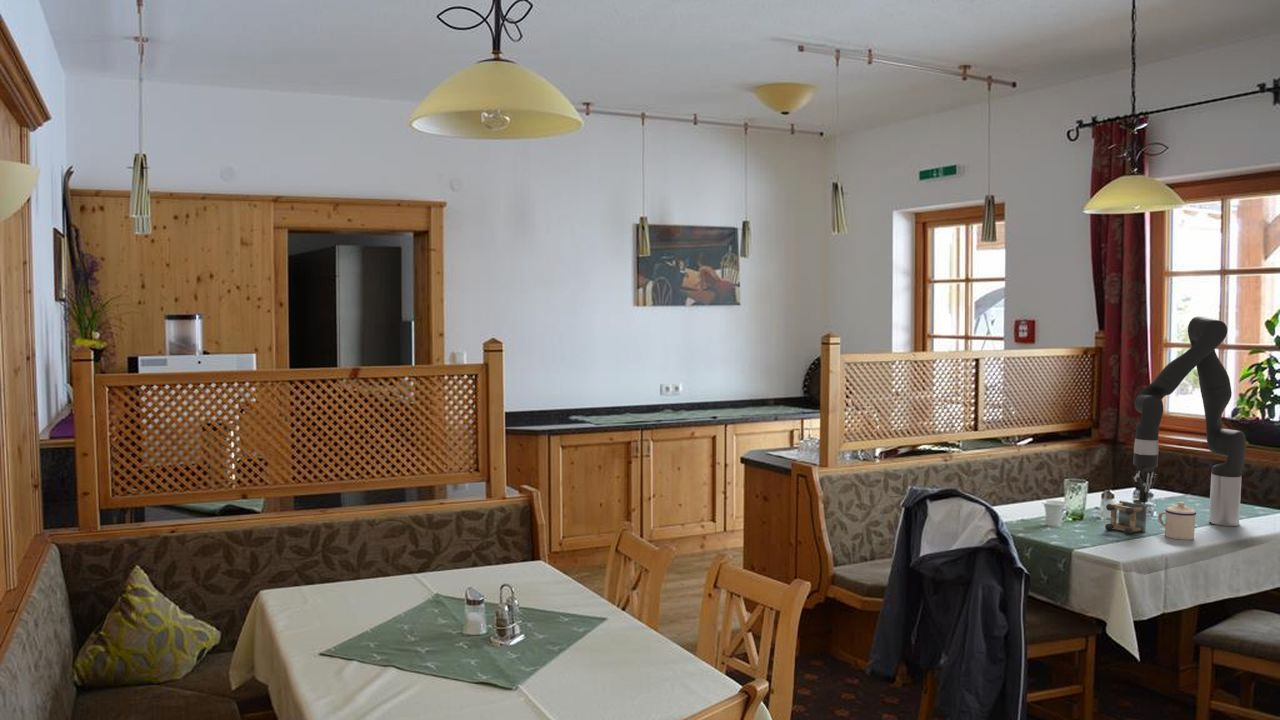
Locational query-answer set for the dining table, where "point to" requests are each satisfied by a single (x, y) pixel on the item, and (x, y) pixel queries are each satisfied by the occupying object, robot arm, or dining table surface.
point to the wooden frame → (1127, 517)
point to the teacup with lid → (1179, 522)
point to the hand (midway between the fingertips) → (1143, 502)
